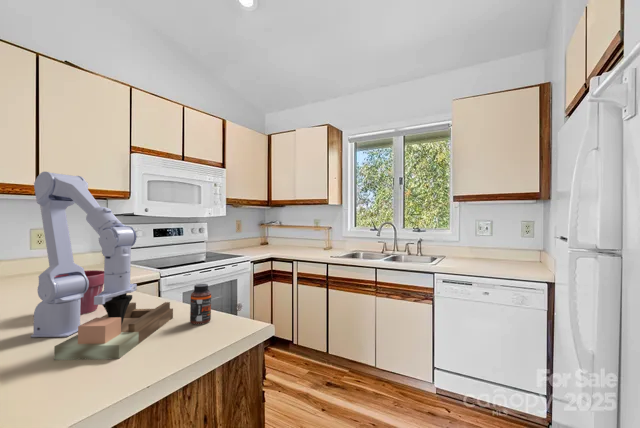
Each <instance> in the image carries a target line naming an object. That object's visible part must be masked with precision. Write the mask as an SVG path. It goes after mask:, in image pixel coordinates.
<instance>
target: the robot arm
mask: <svg viewBox="0 0 640 428" xmlns="http://www.w3.org/2000/svg"><path fill="white" fill-rule="evenodd" d="M33 188H34V194H35V195H34V196H35V199H36V203H37V204H38V205H39V206H40V208H39V209H40V212H41V213H40V214H41V220H42V226H43V233H44V239H45V240H44V241H45V247H46V252H47V259H48V266H49V267H47V268H46V269H45V270H43V272H41V273H40V274H39V275H38V286H37V295H38V298H40V300H41V302H39V303H38V304H37V305H36V306H35V309H34V312H33V334H30V338H58V337H59V338H63V337H65V338H66V337H69V336H71V335H74V334H76V333H78V326H80V325H81V315H80V305H81V297H83V294H84V293H85V292H86V291H87V290H88V287H89V281H88V278H87V277H86V275H85V272H84V271H85V269H84V267H82V266H81V265H79V264H78V263H75V261H74V260H75V259H74V255H73V249H72V243H71V237H70V230H69V224H68V223H69V222H68V219H67V208H68V207H70V206H73V205H74V204H76V205H77V206H78V207H79V208H80V209H81V210H83V211H84V212H85V213H86V216H85V220H86V222H87V223H88V224H89V226H91V227H92V229H93V230H94V231H95V232H96V234H97V235H98V236H99V237H98V243H99V246H100V247H101V254H102V256H104V257H103V259H104V261H103V262H104V263H103V264H104V267H103V268H104V270H103V271H104V284H103V290H102V292H101V293H100V294H99V295H97V296H95V297H94V305H98V306H99V305H100V306H102V307H103V308H104V310H105V312H106V314H108V317H121V324H122V323H123V320H124V316H125V313H126V310H127V307H128V305H129V303H131V301H132V299H133V295H132V294H130V293H133V292H136V291H137V290H138V289H137V287H138V285H137V283H131V270H132V269H131V267H132V266H131V263H132V261H131V260H132V259H131V256H132V247H133V246H135V244H136V242H137V236H138V235H137V233H136V230H135V228H134V227H133V226H132V225H131V226H130V225H126V224H124V223H122V221H121V220H119V219H118V217H116V215H114V213H113V211H112V209H111V208H110V207H106V206H100V204H99V202H98V201H97V200H96V199H95V198H94V195H93V194H92V193H91V192H90V191H89V183H88V182H87V181H86V179H85V178H84V177H83V176H80V175H71V174H63V173H55V172H50V171H42V172H40V173H39V174H38V176H36V178H35V181H34V182H33ZM65 274H68V275H67V276H61V277H55V276H59V275H65ZM54 277H55V278H54Z"/></svg>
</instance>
